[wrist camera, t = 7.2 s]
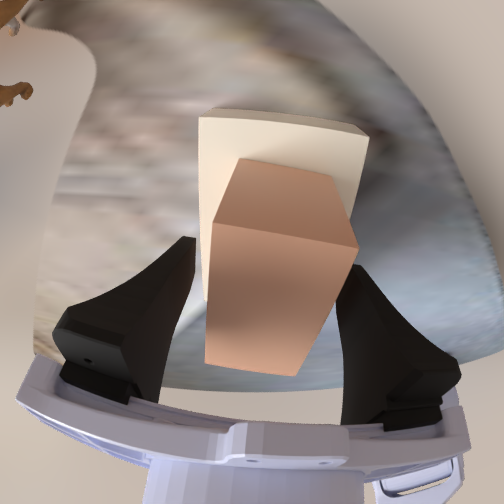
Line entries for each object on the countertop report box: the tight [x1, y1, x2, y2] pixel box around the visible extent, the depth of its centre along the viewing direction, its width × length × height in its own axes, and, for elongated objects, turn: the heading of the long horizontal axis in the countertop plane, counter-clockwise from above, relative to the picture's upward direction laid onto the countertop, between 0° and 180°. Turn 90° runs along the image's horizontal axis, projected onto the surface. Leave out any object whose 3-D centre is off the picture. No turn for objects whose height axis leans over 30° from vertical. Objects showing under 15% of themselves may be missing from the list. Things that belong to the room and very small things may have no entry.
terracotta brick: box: [205, 158, 359, 376], centre depth 13 cm, size 4×8×6 cm, turn 172°
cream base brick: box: [199, 108, 370, 301], centre depth 17 cm, size 8×12×4 cm, turn 176°
